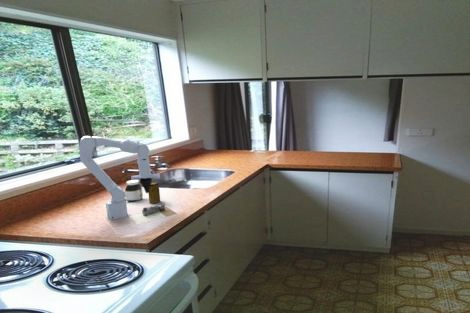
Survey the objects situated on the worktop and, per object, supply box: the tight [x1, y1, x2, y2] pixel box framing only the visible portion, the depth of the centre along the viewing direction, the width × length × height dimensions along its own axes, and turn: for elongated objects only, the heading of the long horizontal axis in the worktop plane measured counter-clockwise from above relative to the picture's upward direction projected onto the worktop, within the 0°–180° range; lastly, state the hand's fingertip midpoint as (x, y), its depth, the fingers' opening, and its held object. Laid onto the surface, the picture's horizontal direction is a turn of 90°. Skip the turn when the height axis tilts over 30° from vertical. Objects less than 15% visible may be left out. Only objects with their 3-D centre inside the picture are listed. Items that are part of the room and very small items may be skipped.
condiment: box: [147, 181, 161, 205], centre depth 179 cm, size 7×8×12 cm
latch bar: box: [141, 203, 165, 216], centre depth 163 cm, size 12×3×3 cm, turn 130°
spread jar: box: [124, 179, 143, 203], centre depth 188 cm, size 12×11×12 cm
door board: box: [129, 206, 178, 225], centre depth 160 cm, size 20×13×1 cm, turn 125°
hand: (147, 192), depth 166 cm, fingers closed
